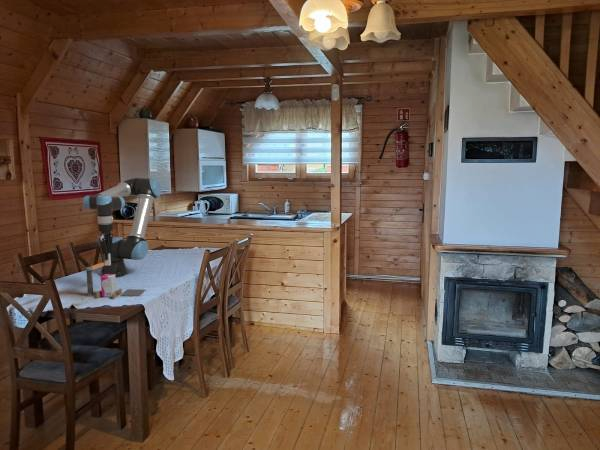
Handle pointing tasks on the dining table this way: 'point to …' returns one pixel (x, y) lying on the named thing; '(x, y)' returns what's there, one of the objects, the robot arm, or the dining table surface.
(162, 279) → the dining table surface
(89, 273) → the socket
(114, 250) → the robot arm
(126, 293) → the pad
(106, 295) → the supplement box
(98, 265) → the clip
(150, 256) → the dining table surface
